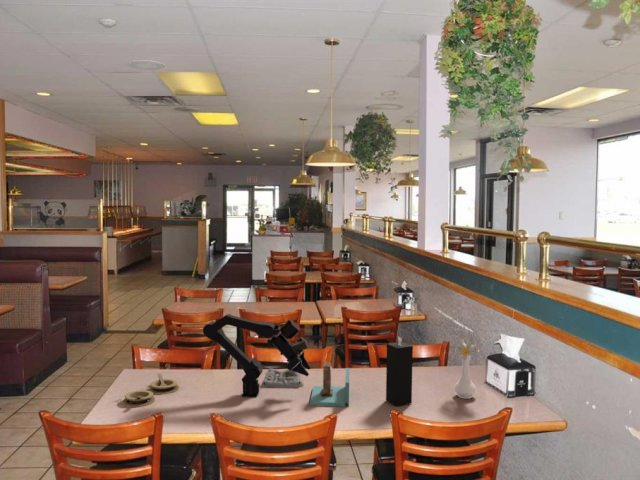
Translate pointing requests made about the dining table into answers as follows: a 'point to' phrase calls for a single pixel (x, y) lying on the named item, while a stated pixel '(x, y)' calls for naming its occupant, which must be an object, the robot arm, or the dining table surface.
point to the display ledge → (338, 397)
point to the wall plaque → (282, 379)
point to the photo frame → (327, 380)
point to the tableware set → (150, 393)
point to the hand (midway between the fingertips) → (309, 372)
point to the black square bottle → (399, 373)
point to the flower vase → (465, 367)
